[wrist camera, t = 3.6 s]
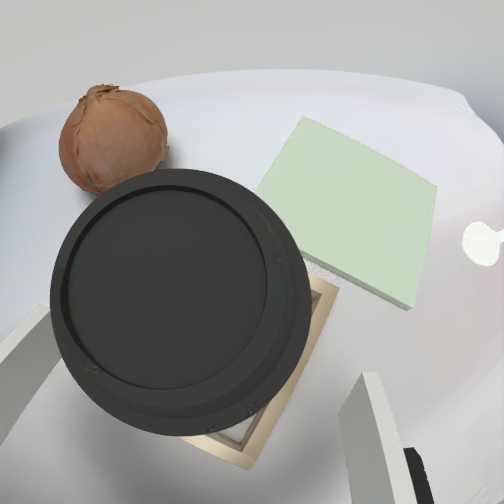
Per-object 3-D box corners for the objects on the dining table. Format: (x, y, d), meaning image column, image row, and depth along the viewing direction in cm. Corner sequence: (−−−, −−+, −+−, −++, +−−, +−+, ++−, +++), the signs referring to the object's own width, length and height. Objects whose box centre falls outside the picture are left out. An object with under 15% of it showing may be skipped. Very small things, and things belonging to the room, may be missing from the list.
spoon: (534, 243, 28) (537, 241, 27) (470, 275, 25) (473, 273, 25) (520, 209, 30) (522, 208, 29) (451, 229, 27) (454, 226, 26)
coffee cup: (234, 258, 24) (245, 106, 10) (287, 365, 21) (393, 354, 7) (127, 303, 22) (7, 204, 8) (173, 414, 19) (80, 486, 5)
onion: (117, 167, 30) (86, 84, 23) (194, 156, 28) (168, 57, 21) (68, 224, 23) (19, 127, 16) (154, 220, 21) (104, 90, 14)
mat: (237, 224, 25) (238, 218, 24) (301, 122, 30) (303, 115, 29) (406, 310, 23) (412, 307, 22) (432, 191, 28) (436, 186, 27)
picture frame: (84, 364, 19) (69, 363, 17) (172, 217, 24) (167, 202, 22) (246, 459, 18) (248, 470, 16) (328, 296, 23) (339, 288, 21)
